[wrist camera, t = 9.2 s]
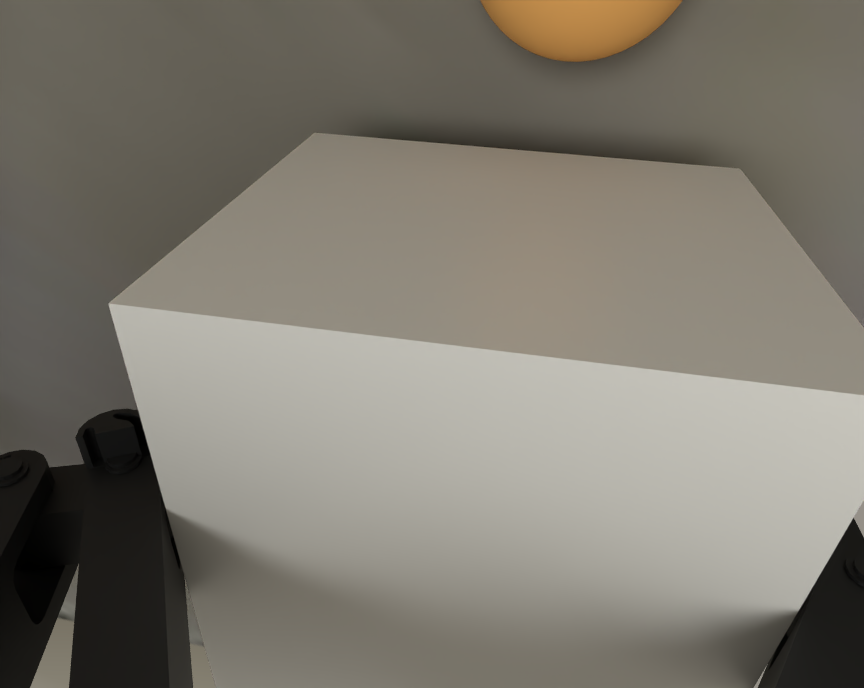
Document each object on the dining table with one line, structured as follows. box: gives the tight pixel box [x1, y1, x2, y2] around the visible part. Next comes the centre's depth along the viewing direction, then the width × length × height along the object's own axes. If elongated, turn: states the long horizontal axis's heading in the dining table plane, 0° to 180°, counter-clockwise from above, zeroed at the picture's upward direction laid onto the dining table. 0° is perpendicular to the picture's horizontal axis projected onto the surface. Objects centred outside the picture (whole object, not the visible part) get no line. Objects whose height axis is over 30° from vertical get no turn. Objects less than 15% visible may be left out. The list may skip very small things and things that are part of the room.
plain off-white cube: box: [108, 133, 864, 688], centre depth 14 cm, size 10×10×9 cm
